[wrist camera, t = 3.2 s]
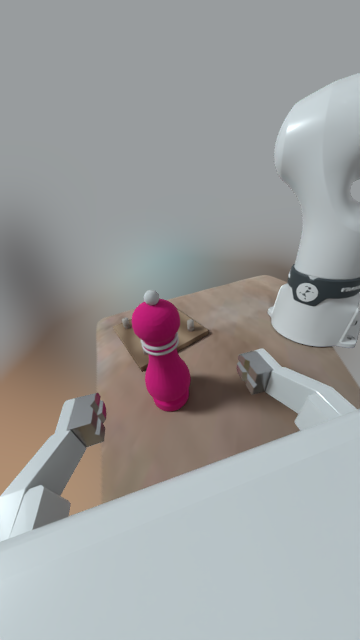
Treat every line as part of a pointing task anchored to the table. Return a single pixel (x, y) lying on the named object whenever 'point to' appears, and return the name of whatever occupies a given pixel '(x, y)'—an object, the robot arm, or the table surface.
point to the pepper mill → (162, 351)
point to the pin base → (132, 342)
